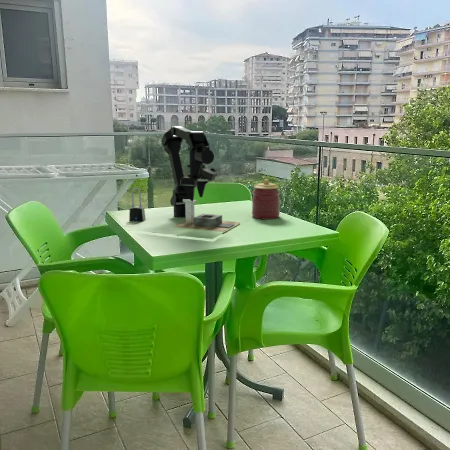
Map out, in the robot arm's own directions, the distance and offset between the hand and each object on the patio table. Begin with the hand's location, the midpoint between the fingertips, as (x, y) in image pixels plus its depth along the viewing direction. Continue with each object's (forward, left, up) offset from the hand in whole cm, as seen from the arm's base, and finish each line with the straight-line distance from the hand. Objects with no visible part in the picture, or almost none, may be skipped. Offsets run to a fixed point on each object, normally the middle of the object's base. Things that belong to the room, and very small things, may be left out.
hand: (196, 199), depth 177 cm
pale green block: (-2, -2, -10) cm, 11 cm away
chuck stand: (+6, -2, -11) cm, 13 cm away
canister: (+22, +27, -12) cm, 37 cm away
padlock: (-29, -3, -11) cm, 31 cm away
